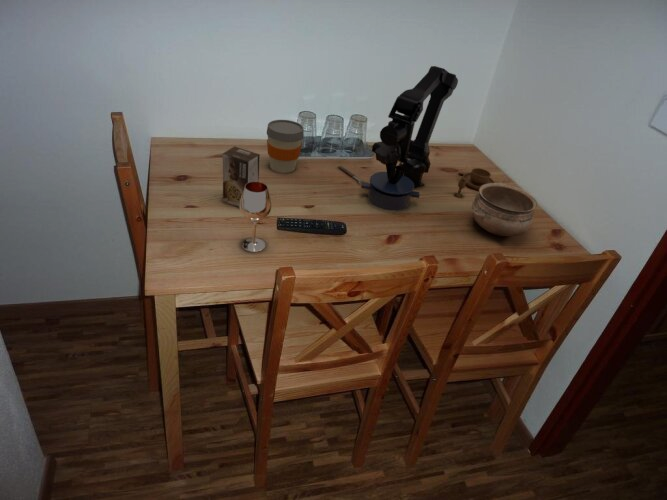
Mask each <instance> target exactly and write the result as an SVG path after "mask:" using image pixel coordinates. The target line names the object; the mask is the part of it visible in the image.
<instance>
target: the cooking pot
mask: <svg viewBox="0 0 667 500" xmlns="http://www.w3.org/2000/svg"><path fill="white" fill-rule="evenodd" d="M478 191H479V192H478V193H477V194H478V195H477V194H476V196H475V198H474V199H473V201H472V203H471V210H470V213H471V215H472V217H473V220H474V221H475V222H476V224H477V225H478V226H479V227H481V228H482V229H483V230H484V231H486V232H488V233H489V234H492V235H494V236H497V237H514V236H518V235H521V234H524V233H525V232H527V231H528V229H529V228H531V226H532V224H533V222H534V220H535V209H536V208H537V207H538V202H537V200H536V198H534V197H533V195H531V194H530V193H529V192H527V191H525V190H523V189H522V188H519V187H516V186H513V185H510V184H508V183H507V184H506V183H500V182H495V183H489V184H485V185H483V186H481V187H480V190H478Z"/></svg>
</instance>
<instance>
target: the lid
mask: <svg viewBox="0 0 667 500" xmlns="http://www.w3.org/2000/svg"><path fill="white" fill-rule="evenodd" d="M395 173H396V169H391V171H390V176H389V180H388V177H387V171H378V172H374V173H373V174H371V175H370V176H369V183H371V184H372V186H373V187H375V188H376V189H378V190H380V191H379V192H381V193H384V194H388V195H395V196H400V195H402V194H408V193H410V192H412V191H415V190H414V189H415V188H414V183H413V182H412V180H410V179H409V178H407V177H406V176H404V175H403V177H402V178H401V179H400V180H399V182H398V183H397V184H394V179H395Z"/></svg>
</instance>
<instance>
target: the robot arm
mask: <svg viewBox="0 0 667 500" xmlns="http://www.w3.org/2000/svg"><path fill="white" fill-rule="evenodd" d="M458 83H459V79H458V77H457V75H456V74H455V73H452V72H449V71H448V70H447V69H446V68H443V67H440V66H437V65H432V66H430V67H429V69H428V72H427V73H426V74H425V75H424V76H423V77H422V78H421V80H419V81H418V83H417V84H416V85H415V86H414V87H413V88H410V89H406V90H404V91H403V92H402V93H400V94H399V95H397V97H396V99H395V101H394V103H393V105H392V107H391V109H390V111H389V114H388V116H387V118H389V119H391V120H390V121H388V122H387V123H388V124H387V125H385V126H383V127H382V128H381V130H380V132H379V139H380V141H377V142H375V143H373V144H372V146H371V152H372V153H374V154H375V160H376V161H377V162H380V163H381V164H382V165H385V168H386V172H387V177H388V180H389V176H390V171H391V169H396V173H395V179H394V184H397V183H398V182H399V180H400V179H401V178H402V177H403V175H404V176H406V177H407V178H409V179H410V180H412V182H413V183H414V189H416V188H420V187H424V185H425V183H423V182H422V180H423V175H424V174H428V173H429V170H430V168H431V164H432V163H431V161H430V158H429V156H430V153H431V150H430V146H429V143H430V140H431V137H432V134H433V132H434V129H435V126H436V124H437V122H438V118H439V116H440V114H441V110H442V108H443V105H444V103H445V101H446V100H447V99H449V98H450V97H451V96H452V95H453V92H454V90H456V88H457V86H458ZM429 96H430V97H429ZM427 98H429V99H428V103H427V106H426V108H425V111H424V101H426V100H427ZM423 111H424V114H423V116H422V120H421V122H420V125H419V128H418V131H417V133H416V136H415V138H414V140H413V139H412V137H413V133H414V128H415V125H416V124H415V123H417V122H418V119H419V118H420V116H421V114H422V113H423Z"/></svg>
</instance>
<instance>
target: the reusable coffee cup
mask: <svg viewBox="0 0 667 500" xmlns="http://www.w3.org/2000/svg"><path fill="white" fill-rule="evenodd" d="M304 129H305V128H304V126H303V125H302V124H301V123H299V122H296V121H294V120H289V119H274V120H271V121H269V122H268V123H267V128H266V135H267V139H266V148H267V155H268V158H269V160H268V161H269V168H270V169H271V170H272V171H273V172H276V173H281V174H288V173H292V172H294V171H295V170H296V167H297V162H298V159H299V158H300V156H301V152H302V151H301V150H302V146H303V139H304V137H305V136H304V135H305V134H304V133H305V130H304Z"/></svg>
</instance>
